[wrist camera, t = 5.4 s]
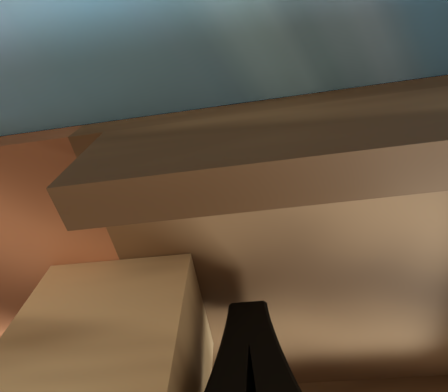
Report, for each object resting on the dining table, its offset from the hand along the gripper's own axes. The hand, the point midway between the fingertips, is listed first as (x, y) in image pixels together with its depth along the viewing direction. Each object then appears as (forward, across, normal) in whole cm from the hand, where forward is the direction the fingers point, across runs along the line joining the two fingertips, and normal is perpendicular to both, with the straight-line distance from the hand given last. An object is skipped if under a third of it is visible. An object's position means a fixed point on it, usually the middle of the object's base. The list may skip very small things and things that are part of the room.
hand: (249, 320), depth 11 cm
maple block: (+1, +4, 0) cm, 4 cm away
